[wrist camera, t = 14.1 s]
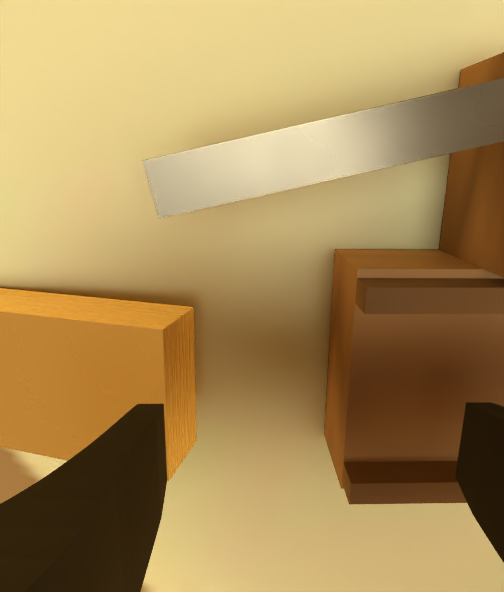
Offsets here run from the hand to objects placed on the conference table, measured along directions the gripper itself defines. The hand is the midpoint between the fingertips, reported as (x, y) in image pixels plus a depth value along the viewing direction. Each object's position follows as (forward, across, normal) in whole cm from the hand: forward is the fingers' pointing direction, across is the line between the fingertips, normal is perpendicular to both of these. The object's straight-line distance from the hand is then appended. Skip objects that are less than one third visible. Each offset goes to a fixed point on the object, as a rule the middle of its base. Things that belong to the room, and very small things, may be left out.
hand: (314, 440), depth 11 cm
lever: (+1, -2, -7) cm, 7 cm away
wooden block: (+4, +7, 0) cm, 8 cm away
